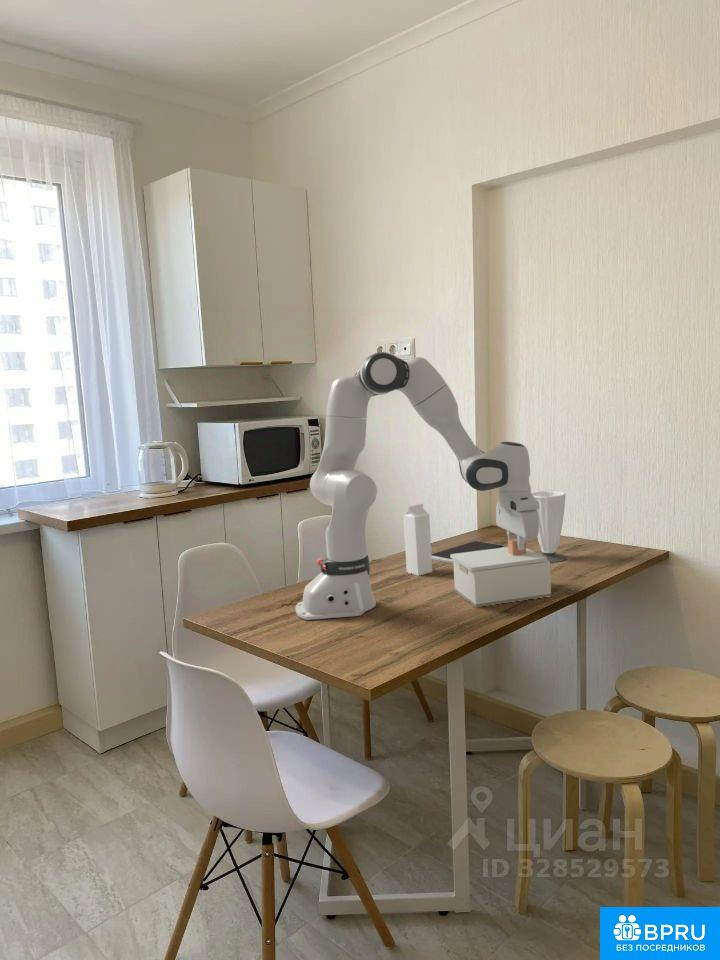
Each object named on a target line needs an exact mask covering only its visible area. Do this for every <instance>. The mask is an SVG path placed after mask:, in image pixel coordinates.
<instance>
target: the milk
mask: <svg viewBox="0 0 720 960" xmlns="http://www.w3.org/2000/svg"><path fill="white" fill-rule="evenodd" d="M407 509H408V511H407V512H406V513H404V514H403V515H402V516H403V517H402V519H403V531H404V532H403V533H404V534H403V535H404V549H405V552H404V553H405V565H406V566H405V567H406V573H407V572H408V574H411V573H412V574H411V575H414V576H417V575H418V576H417V577H420V576H423V575H426V574H430V573H433V560H432V554H433V552H432V540H431V539H432V538H431V522H430V521H431V520H430V519H431V518H430V514H429V513H428V512H427V510H426V509H424V504H423V503H420V504H419V503H418V504H414V505H409V506H408V507H407ZM419 575H420V576H419Z"/></svg>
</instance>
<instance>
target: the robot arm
mask: <svg viewBox="0 0 720 960" xmlns="http://www.w3.org/2000/svg"><path fill="white" fill-rule="evenodd" d="M393 391H400V392H401V393H402V394H403V395H404V396H405V397H406V398H407V399H408V401H409V402H410V404H411V406H412V407H413V409H414V410H415V411H416V412H417V415H419V417H421V419H422V420H423V421H424V422H425V423H426V424H427V425H428V426H429V427H431V428H432V429H434V430H436V431H437V432H438V433H439V434H440V435H441V437H442V438H443V439H444V440H445V442H446V443H447V445H448V446H449V448H450V450H451V451H452V452H453V454H454V455H455V457H456V459H457V461H458V467H459V472H460V475H461V478H462V479H463V480H464V481H465V483H467V484H468V485H469V487H471V488H472V489H474V490H475V491H480V492H486V491H490V490H495V489H497V490H498V502H497V503H496V505H495V506H496V507H495V508H496V509H495V523H496V526H497V527H499V528H501V529H503V530H505V531H506V535H507V538H508V539H514V538H518V542H517V543H516V549H518V550H524V543H525V541H526V542H527V540H532V539H536V538H537V539H538V537H537V536H538V533H539V516H538V512H537V509H539V502H538V501H537V500H536V499H535V498H534V496H533V495H532V493H533V492H532V487H531V484H530V477H531V462H530V456H529V455H530V454H529V451H528V449H527V447H526V446H525V445H523V444H522V443H519V442H515V441H514V442H513V441H501V442H499V443H498V445H495V446H494V447H493V448H492V449H490V450H488V451H486V452H485V451H483V450H481V449H479V447H477V445H475V443H474V441H473V440H472V438H471V437H470V435H469V434H468V432H467V430H465V428H464V426H463V424H462V422H461V420H460V416H459V415H460V414H459V405H458V402H457V399H456V398H455V395H454V393H453V392H452V390H451V388H450V386H449V385H448V384H447V382H446V381H445V379H444V377H443V376H442V375H441V374H440V372H439V371H438V370H437V369H436V368H435V367H434V366H433V365H432V363H430V361H428V360H427V359H426V358H425V357H421V356H419V357H413V358H410V359H408V360H407V361H405V360H403V359H402V358H400V357H397V356H396V355H394V354H392V353H389V352H381V351H380V352H375V353H373V354H371V355H369V356H367V357H366V358H365V359H364V360H363V361H362V363H361V364H360V366H359V368H358V370H357V371H356V373H355V374H354V375H350V376H349V375H347V376H345V375H344V376H341V377H338V378H337V379H335V380H334V381H333V382H332V383H331V387H330V391H329V394H328V399H327V405H326V414H325V415H326V417H325V430H324V431H325V432H324V441H323V442H324V444H323V448H322V453H321V456H320V459H319V463H318V465H317V468H316V471H315V472H313V474H312V476H311V477H310V480H309V481H310V482H309V489H310V493H311V494H312V495H313V497H314V498H315V499H316V500H318V501H319V502H320V503H322V504H323V505H326V506H331V516H330V521H329V525H328V526H327V527H326V529H325V534H324V535H325V544H326V547H325V548H326V558H325V559H323V558H321V557H319V558H317V559H316V564H317V566H319V567H320V573H318V575H316V576H315V577H314V578H313V579H312V580H311V581H309V583H307V584H306V585H305V587H304V590H303V592H302V593H303V594H302V601H300V602H298V603H297V604H296V605H295V614H296V615H297V616H298V617H299V618H300V619H303V620H306V621H307V620H308V621H309V620H323V619H324V620H325V619H332V618H333V619H335V618H337V619H338V618H346V617H358V616H362V615H363V614H364V613H366V612H367V611H369V610H372V609H373V608H375V607H376V606H377V602H376V600H375V596H374V594H373V589H372V585H371V579H370V571H371V566H370V565H371V564H370V558H369V555H368V554H367V535H366V531H367V530H366V529H367V519H368V514H369V511H370V508H371V507H372V505H373V504H374V503H375V501H376V499H377V495H378V493H377V492H378V491H377V490H378V489H377V484H376V483H375V481H374V479H373V478H371V477H370V476H369V475H368V474H365V473H364V472H363V471H359V470H355V468H356V464H357V461H358V458H359V457H360V454H361V453H362V452H363V450H364V449H365V446H366V436H367V417H368V405H369V402H370V400H371V398H372V397H375V396H383V395H386V394H389V393H391V392H393Z"/></svg>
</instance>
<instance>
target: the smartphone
mask: <svg viewBox="0 0 720 960" xmlns="http://www.w3.org/2000/svg"><path fill="white" fill-rule="evenodd" d="M503 547H505V545H503V544H500V543H499V544H497V543H491V542H486V541H479V540H474V541H470V542H468V543H463V544H460V545H457V546H453V547H451V548H446V549H443V550H440V551H438V552H434V553H433V552H432V561H435V560H436V562H440V561H441V563H445V562H446V563H447V564H450V563H451V564H450V565H454V564H453V559H452V558H450V554H457V553H464V552H472V551H480V550H488V549H496V548H503ZM446 563H445V564H446Z"/></svg>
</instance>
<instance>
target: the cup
mask: <svg viewBox="0 0 720 960" xmlns="http://www.w3.org/2000/svg"><path fill="white" fill-rule="evenodd" d="M531 493H532V495H533V496H534V498H535V499H536V500H537V501H538V502H539V509H537V512H538V516H539V533H538V536H537V540H538V543H539V547H540V549H541V553H539V554H540V555H542V556H544V557H547V560H548V561H550V564H552V563H554V562H556V563H559V562H560V561H562V562H565V561H567V560H568V556H566V555H565V554H562V553H557V550H558V548H559V544H560V540H561V534H562V529H563V524H564V523H563V522H564V517H565V508H566V496H567V495H566V493H565V492H564V491H560V490H559V491H558V490H539V491H533V492H531ZM564 560H565V561H564ZM551 562H552V563H551ZM554 564H555V563H554Z"/></svg>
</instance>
